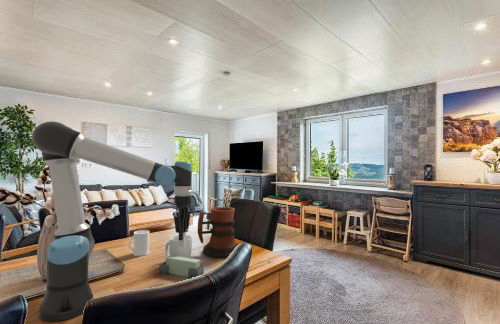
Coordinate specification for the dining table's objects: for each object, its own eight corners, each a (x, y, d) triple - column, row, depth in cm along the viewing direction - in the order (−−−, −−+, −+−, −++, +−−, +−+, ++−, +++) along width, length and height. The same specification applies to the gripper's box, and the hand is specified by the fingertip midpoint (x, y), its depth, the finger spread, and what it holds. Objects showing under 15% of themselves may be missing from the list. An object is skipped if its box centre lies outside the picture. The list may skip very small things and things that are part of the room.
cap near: (197, 279, 113) (197, 270, 113) (188, 278, 114) (188, 268, 114) (203, 273, 119) (203, 264, 119) (195, 272, 120) (195, 263, 120)
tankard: (245, 256, 142) (246, 211, 142) (199, 261, 134) (200, 213, 134) (235, 244, 163) (236, 205, 163) (195, 247, 155) (196, 206, 155)
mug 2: (157, 264, 129) (158, 238, 129) (172, 257, 139) (173, 232, 139) (182, 269, 123) (182, 242, 123) (195, 261, 133) (196, 236, 133)
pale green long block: (195, 278, 114) (196, 262, 114) (165, 272, 119) (165, 257, 120) (199, 275, 117) (200, 259, 118) (170, 270, 123) (170, 255, 123)
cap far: (167, 274, 117) (167, 266, 117) (158, 273, 118) (159, 264, 118) (174, 269, 123) (174, 261, 123) (166, 268, 124) (166, 260, 124)
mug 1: (132, 259, 135) (132, 236, 135) (123, 255, 140) (124, 233, 141) (152, 253, 145) (153, 231, 145) (144, 249, 150) (144, 229, 150)
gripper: (182, 197, 111) (181, 252, 111) (196, 193, 124) (196, 243, 124) (167, 196, 113) (166, 250, 113) (182, 193, 126) (182, 241, 126)
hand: (182, 246), depth 119 cm, fingers closed
